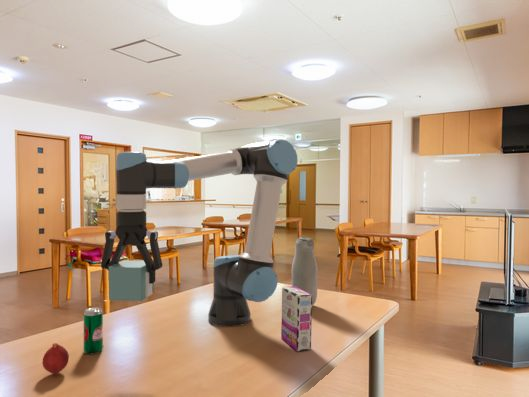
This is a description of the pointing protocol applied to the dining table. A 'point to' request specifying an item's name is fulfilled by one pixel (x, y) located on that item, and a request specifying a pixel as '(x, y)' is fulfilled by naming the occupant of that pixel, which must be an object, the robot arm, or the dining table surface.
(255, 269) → the robot arm
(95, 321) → the soda can
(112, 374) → the dining table surface
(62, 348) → the pomegranate
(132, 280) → the seafoam cube
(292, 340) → the candy bar box
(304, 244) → the grey bottle
